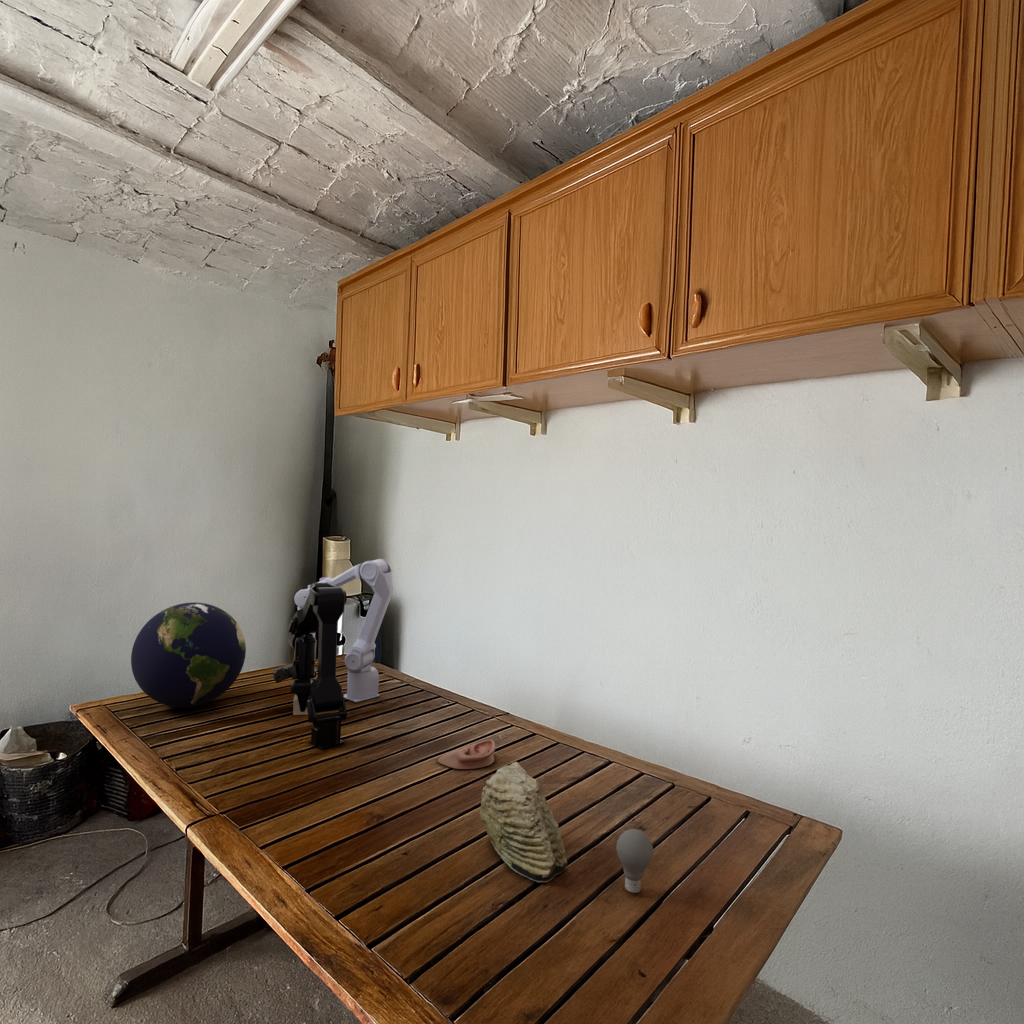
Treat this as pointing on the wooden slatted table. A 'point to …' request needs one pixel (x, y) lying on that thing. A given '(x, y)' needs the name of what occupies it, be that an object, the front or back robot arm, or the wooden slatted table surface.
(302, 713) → the block
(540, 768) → the wooden slatted table surface
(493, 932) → the wooden slatted table surface
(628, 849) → the light bulb
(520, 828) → the fossil
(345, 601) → the front robot arm
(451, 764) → the anatomical model
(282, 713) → the wooden slatted table surface
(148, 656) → the globe
